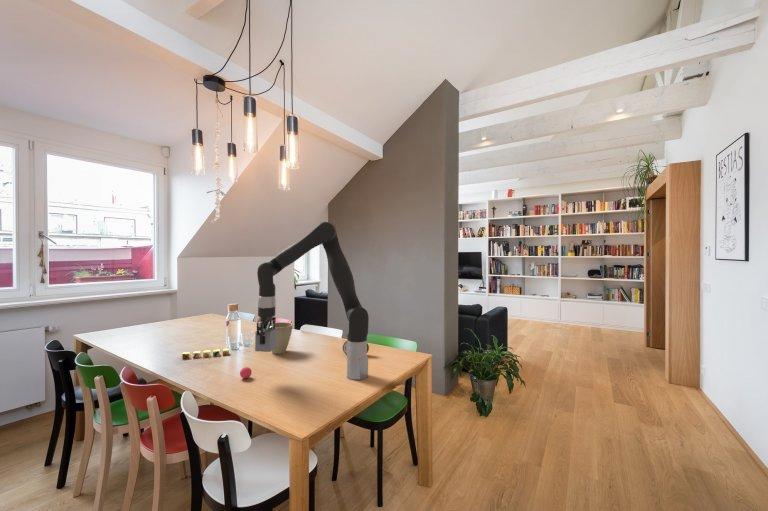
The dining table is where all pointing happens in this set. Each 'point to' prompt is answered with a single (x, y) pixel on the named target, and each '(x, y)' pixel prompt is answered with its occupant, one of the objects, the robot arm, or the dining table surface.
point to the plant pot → (282, 337)
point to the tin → (346, 347)
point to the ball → (245, 372)
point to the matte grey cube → (266, 341)
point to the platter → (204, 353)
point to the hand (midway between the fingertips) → (266, 342)
